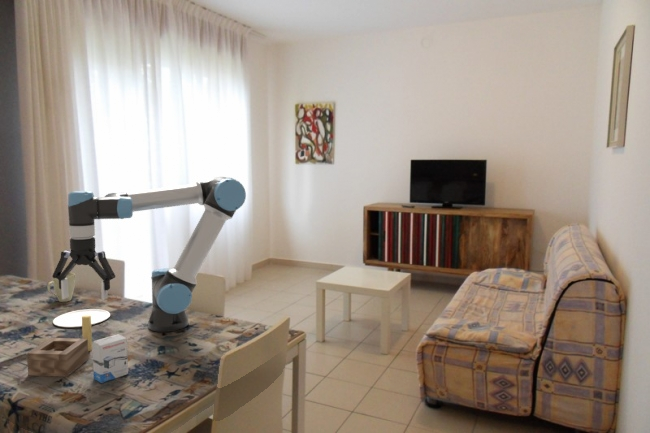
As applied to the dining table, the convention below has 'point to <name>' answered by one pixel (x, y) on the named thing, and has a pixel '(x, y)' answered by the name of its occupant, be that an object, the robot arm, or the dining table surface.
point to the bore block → (57, 357)
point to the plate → (80, 318)
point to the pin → (87, 330)
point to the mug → (58, 291)
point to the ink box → (110, 358)
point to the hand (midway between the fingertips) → (85, 298)
